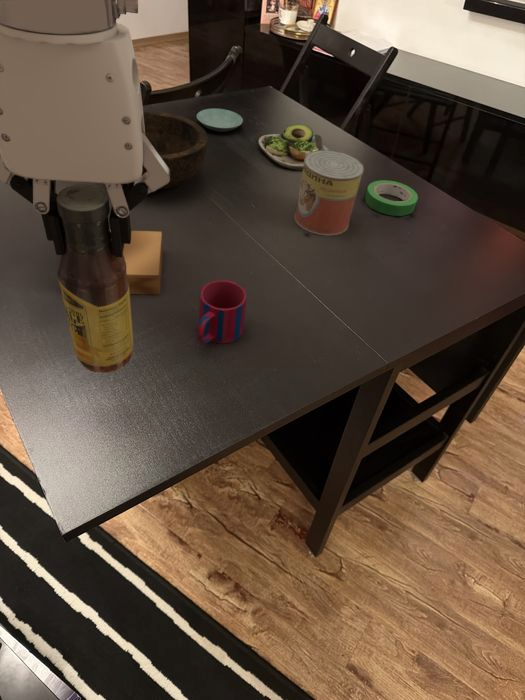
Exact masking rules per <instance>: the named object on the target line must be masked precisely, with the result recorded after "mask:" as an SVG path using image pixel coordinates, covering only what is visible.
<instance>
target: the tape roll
mask: <svg viewBox="0 0 525 700" xmlns="http://www.w3.org/2000/svg"><path fill="white" fill-rule="evenodd" d="M381 195H390V196H393V197H396V198H398V199H400V200H401V201H399V200H398V201H397V200H396V201H395V200H391V199H388V198H385V197H383V196H381ZM418 200H419V196H418V193H417V192H416V191H415V189H413V188H412V187H410V186H408V185H407V184H405V183H401V182H400V181H399V182H398V181H394V180H386V179H383V180H374V181H372V182H371V183H369V184H368V185H367V188H366V191H365V196H364V202H365V204H366V205H367V206H368V207H369V208H371V209H372V210H373V211H375V212H378V213H380V214H383V215H386V216H391V217H405V216H408V215H410V214H412V213H413V212H414V211H415V209H416V205H417V202H418Z"/></svg>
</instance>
